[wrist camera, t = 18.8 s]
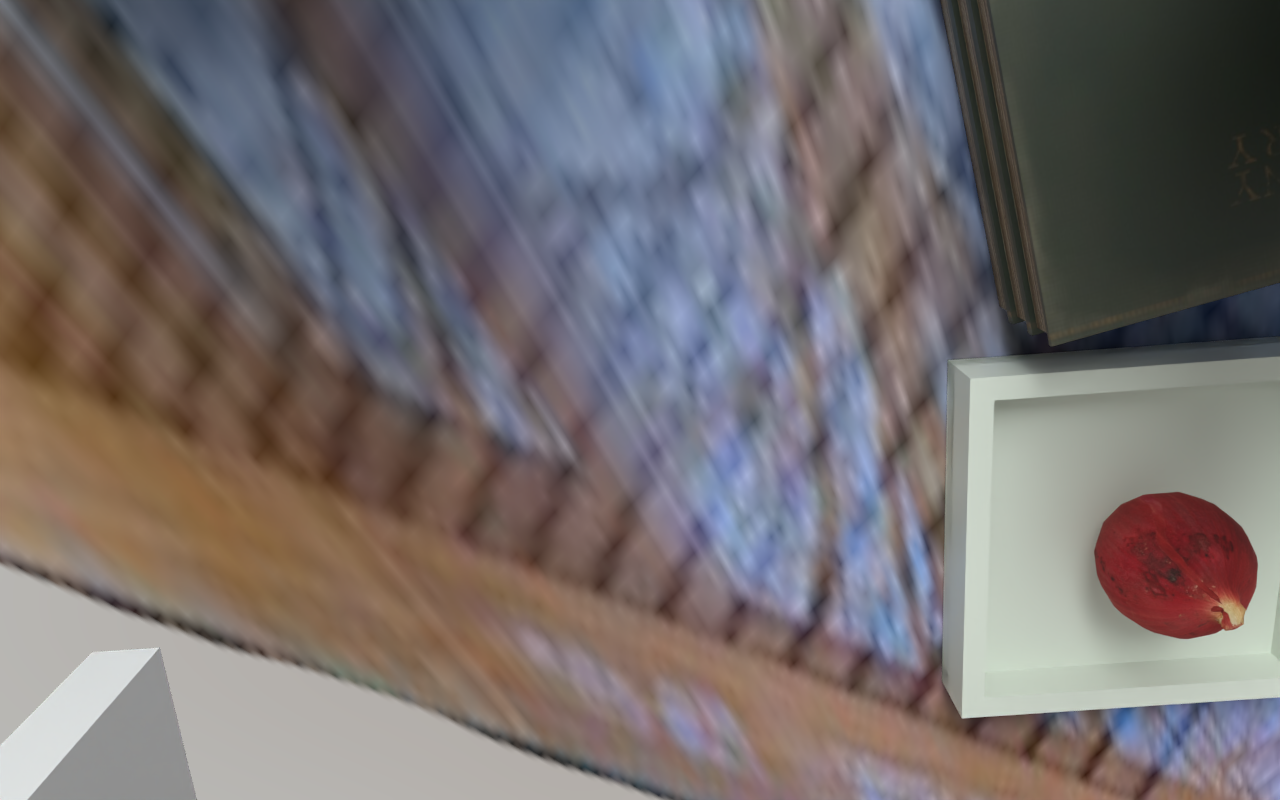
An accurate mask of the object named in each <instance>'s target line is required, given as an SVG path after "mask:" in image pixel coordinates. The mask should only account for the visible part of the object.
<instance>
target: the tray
mask: <svg viewBox="0 0 1280 800" xmlns="http://www.w3.org/2000/svg"><path fill="white" fill-rule="evenodd" d="M1169 492H1181V493H1185V494H1188V495H1192V496H1195V497H1198V498H1201V499H1204V500H1206V501H1208V502H1211V503H1213V504H1215V505H1216V506H1218V507H1219V508H1220V509H1222V510H1223V511H1224V512H1225V513H1227V514H1228V515H1229V516H1230V517H1232V518H1233V519H1234V520H1235V521H1236V522H1237V523H1238V524H1239V525H1240V526H1242V528H1243V530H1244V531H1245V533H1246V535H1247V536H1248V538H1249V540H1250V543H1251V545H1252V547H1253V549H1254V551H1255V553H1256V556H1257V561H1258V571H1257V585H1256V589H1255V592H1254V594H1253V597H1252V599H1251V601H1250V603H1249V606H1248V608H1247V610H1246V611H1245V615H1244V624H1243V625H1242V626H1240V627H1239V628H1236V629H1234V630H1229V631H1225V630H1224V629H1222V630H1221V631H1219V632H1217V633H1215V634H1211V635H1206V636H1201V637H1196V638H1191V639H1178V638H1174V637H1170V636H1166V635H1162V634H1157V633H1154V632H1151V631H1149V630H1147V629H1145V628H1143V627H1141V626H1140V625H1138V624H1137V623H1135V622H1134V621H1132V620H1130V619H1129V618H1127V617H1126V616H1124V615H1123V614H1122V613H1121V612H1120V611H1118V610H1117V609H1116V608H1115V607H1114V606H1113V604H1112V602H1111V601H1110V599H1109V598H1108V596H1107V594H1106V593H1105V591H1104V589H1103V588H1102V586H1101V584H1100V581H1099V579H1098V576H1097V571H1096V564H1095V556H1094V550H1095V546H1096V542H1097V539H1098V536H1099V533H1100V530H1101V527H1102V524H1103V522H1104V521H1105V520H1106V519H1107V518H1108V517H1109V516H1110V515H1111V514H1112V513H1113V512H1114V511H1115V510H1116V509H1117V508H1118V507H1119V506H1120V505H1121V504H1123V503H1125V502H1128V501H1130V500H1132V499H1135V498H1137V497H1139V496H1142V495H1145V494H1156V493H1169ZM942 682H943V684H944V686H945V688H946V690H947V692H948V693H949V695H950V697H951V699H952V701H953V703H954V705H955V707H956V709H957V710H958V712H959V714H960V716H961V718H975V717H990V716H1005V715H1020V714H1035V713H1050V712H1065V711H1080V710H1096V709H1111V708H1126V707H1141V706H1156V705H1171V704H1186V703H1201V702H1216V701H1231V700H1246V699H1261V698H1276V697H1280V336H1276V337H1262V338H1249V339H1235V340H1221V341H1207V342H1193V343H1179V344H1165V345H1151V346H1137V347H1123V348H1109V349H1096V350H1082V351H1068V352H1054V353H1040V354H1026V355H1012V356H998V357H984V358H970V359H957V360H948V374H947V429H946V483H945V538H944V592H943V646H942Z"/></svg>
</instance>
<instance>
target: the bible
mask: <svg viewBox="0 0 1280 800" xmlns="http://www.w3.org/2000/svg"><path fill="white" fill-rule="evenodd" d="M940 1H941V6H942V11H943V16H944V21H945V27H946V32H947V37H948V42H949V47H950V52H951V58H952V63H953V68H954V73H955V78H956V83H957V88H958V94H959V99H960V104H961V109H962V114H963V119H964V124H965V130H966V135H967V140H968V145H969V150H970V155H971V161H972V166H973V171H974V176H975V181H976V186H977V191H978V197H979V202H980V207H981V212H982V217H983V222H984V227H985V233H986V238H987V243H988V248H989V253H990V258H991V264H992V269H993V274H994V279H995V284H996V289H997V294H998V300H999V305H1000V307H1001V308H1003V309H1005V310H1006V311H1007V315H1008V320H1009V322H1010V323H1012V324H1016V323H1019V322H1023V321H1026V325H1027V330H1028V333H1029V334H1031V335H1032V336H1034V335H1037V334H1041V333H1044V332H1046V333H1047V336H1048V342H1049V346H1051V347H1053V346H1056V345H1060V344H1063V343H1067V342H1070V341H1074V340H1077V339H1081V338H1085V337H1088V336H1092V335H1095V334H1099V333H1102V332H1106V331H1109V330H1113V329H1116V328H1120V327H1124V326H1127V325H1131V324H1134V323H1138V322H1141V321H1145V320H1148V319H1152V318H1156V317H1159V316H1163V315H1166V314H1170V313H1173V312H1177V311H1180V310H1184V309H1188V308H1191V307H1195V306H1198V305H1202V304H1205V303H1209V302H1212V301H1216V300H1220V299H1223V298H1227V297H1230V296H1234V295H1237V294H1241V293H1244V292H1248V291H1251V290H1255V289H1259V288H1262V287H1266V286H1269V285H1273V284H1276V283H1280V0H940Z"/></svg>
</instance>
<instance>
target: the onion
mask: <svg viewBox="0 0 1280 800" xmlns="http://www.w3.org/2000/svg"><path fill="white" fill-rule="evenodd" d="M1094 556H1095V564H1096V571H1097V576H1098V579H1099V581H1100V584H1101V586H1102V588H1103V589H1104V591H1105V593H1106V594H1107V596H1108V598H1109V599H1110V601H1111V602H1112V604H1113V606H1114V607H1115V608H1116V609H1117V610H1118V611H1120V612H1121V613H1122V614H1123V615H1124V616H1126V617H1127V618H1129V619H1130V620H1132V621H1134V622H1135V623H1137V624H1138V625H1140V626H1141V627H1143V628H1145V629H1147V630H1149V631H1151V632H1154V633H1157V634H1162V635H1166V636H1170V637H1174V638H1178V639H1191V638H1196V637H1201V636H1206V635H1211V634H1215V633H1217V632H1219V631H1221V630H1222V629H1224V630H1225V631H1229V630H1234V629H1236V628H1239V627H1240V626H1242V625H1243V624H1244V615H1245V611H1246V610H1247V608H1248V606H1249V603H1250V601H1251V599H1252V597H1253V594H1254V592H1255V589H1256V585H1257V571H1258V561H1257V556H1256V553H1255V551H1254V549H1253V547H1252V545H1251V543H1250V540H1249V538H1248V536H1247V535H1246V533H1245V531H1244V530H1243V528H1242V526H1240V525H1239V524H1238V523H1237V522H1236V521H1235V520H1234V519H1233V518H1232V517H1230V516H1229V515H1228V514H1227V513H1225V512H1224V511H1223V510H1222V509H1220V508H1219V507H1218V506H1216V505H1215V504H1213V503H1211V502H1208V501H1206V500H1204V499H1201V498H1198V497H1195V496H1192V495H1188V494H1185V493H1181V492H1169V493H1156V494H1145V495H1142V496H1139V497H1137V498H1135V499H1132V500H1130V501H1128V502H1125V503H1123V504H1121V505H1120V506H1119V507H1118V508H1117V509H1116V510H1115V511H1114V512H1113V513H1112V514H1111V515H1110V516H1109V517H1108V518H1107V519H1106V520H1105V521H1104V522H1103V524H1102V527H1101V530H1100V533H1099V536H1098V539H1097V542H1096V546H1095V550H1094Z"/></svg>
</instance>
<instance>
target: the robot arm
mask: <svg viewBox="0 0 1280 800" xmlns="http://www.w3.org/2000/svg"><path fill="white" fill-rule="evenodd" d="M0 800H197V799H196V795H195V791H194V787H193V782H192V778H191V774H190V770H189V766H188V762H187V758H186V754H185V750H184V745H183V741H182V737H181V733H180V729H179V725H178V721H177V716H176V712H175V708H174V704H173V700H172V696H171V692H170V688H169V684H168V680H167V676H166V671H165V667H164V663H163V659H162V655H161V651H160V648H145V649H130V650H116V651H102V652H92V653H91V654H90V655H89V656H88V657H87V658H86V659H85V660H84V661H83V662H82V663H81V664H80V665H79V666H78V667H77V668H76V669H75V670H74V671H73V672H72V673H71V674H70V675H69V676H68V677H67V678H66V679H65V680H64V681H63V682H62V683H61V684H60V685H59V686H58V687H57V688H56V689H55V690H54V691H53V692H52V693H51V694H50V695H49V696H48V697H47V698H46V699H45V700H44V702H42V703H41V704H40V705H39V707H37V709H35V710H34V711H33V713H32V714H31V715H30V716H29V717H28V718H27V719H26V720H25V721H24V722H23V723H22V724H21V725H20V726H19V727H18V728H17V729H16V730H15V731H14V732H13V733H12V734H11V735H10V736H9V737H8V738H7V739H6V740H5V741H4V742H3V743H2V744H1V745H0Z"/></svg>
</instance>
